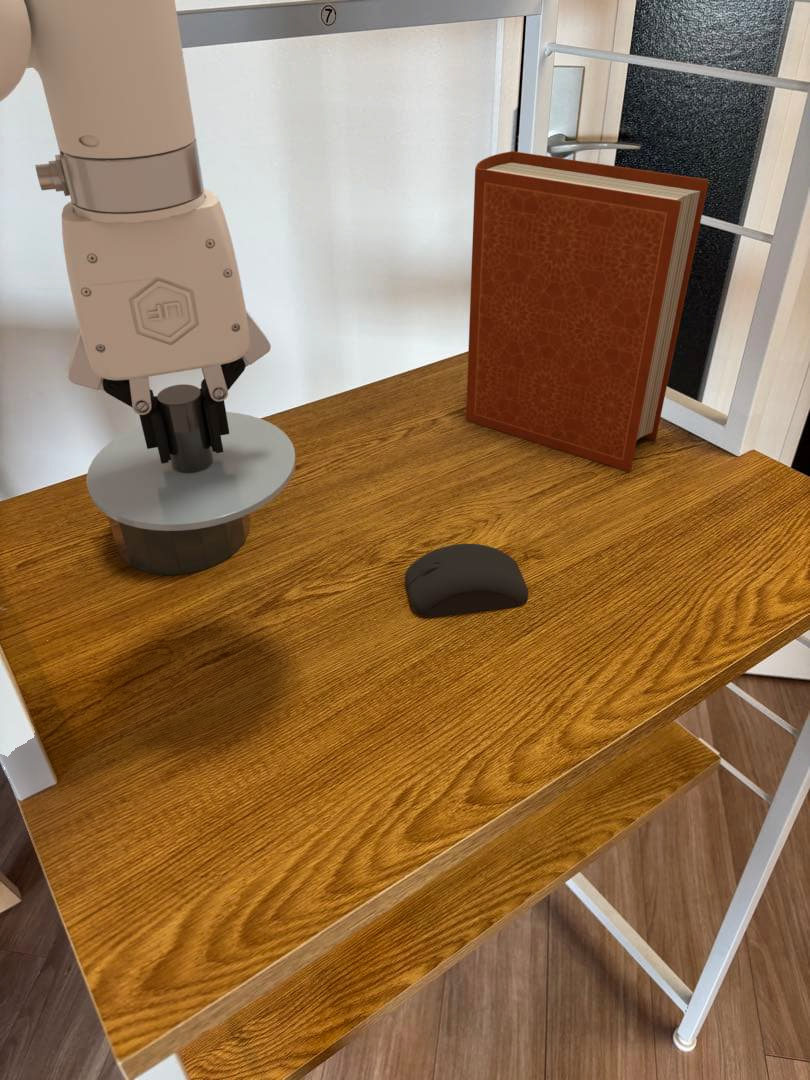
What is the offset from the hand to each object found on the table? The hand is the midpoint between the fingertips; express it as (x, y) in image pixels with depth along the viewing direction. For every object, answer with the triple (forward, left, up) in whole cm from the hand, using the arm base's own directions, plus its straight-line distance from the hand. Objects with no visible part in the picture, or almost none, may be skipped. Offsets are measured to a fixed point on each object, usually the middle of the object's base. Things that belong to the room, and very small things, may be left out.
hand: (189, 446), depth 59 cm
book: (+45, +24, -22) cm, 56 cm away
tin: (-1, +20, -22) cm, 30 cm away
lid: (0, 0, -2) cm, 2 cm away
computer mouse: (+23, +1, -22) cm, 32 cm away
